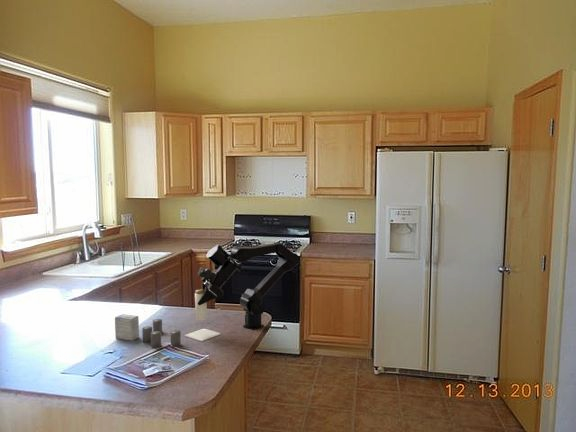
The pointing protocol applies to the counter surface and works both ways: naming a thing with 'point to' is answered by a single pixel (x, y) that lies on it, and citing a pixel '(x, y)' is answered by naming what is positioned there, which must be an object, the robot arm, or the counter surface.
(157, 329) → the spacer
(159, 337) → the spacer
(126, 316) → the medicine box
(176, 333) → the spacer
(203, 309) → the jar
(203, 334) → the mat
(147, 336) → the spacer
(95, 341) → the counter surface
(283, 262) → the robot arm
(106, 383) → the counter surface
